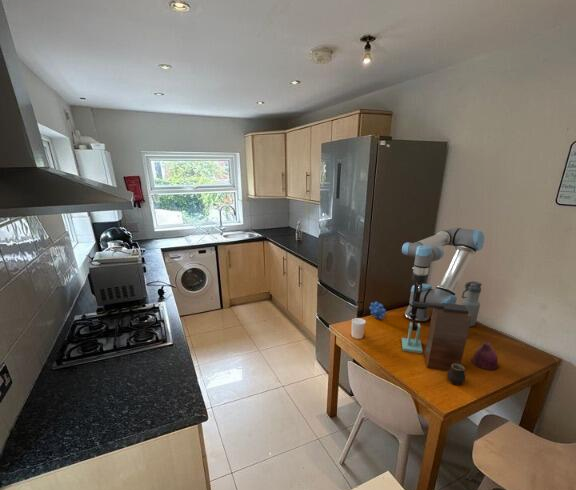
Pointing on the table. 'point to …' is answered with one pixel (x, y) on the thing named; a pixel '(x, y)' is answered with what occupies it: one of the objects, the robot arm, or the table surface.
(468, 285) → the water bottle
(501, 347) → the table surface
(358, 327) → the white cup
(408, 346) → the mounting bracket
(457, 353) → the shelf block
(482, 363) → the purple beanie hat
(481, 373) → the table surface
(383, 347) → the table surface
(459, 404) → the table surface
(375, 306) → the grapes
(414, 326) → the black knobbed rod
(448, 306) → the spatula
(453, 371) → the mate gourd
